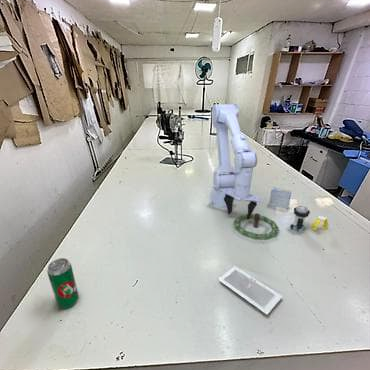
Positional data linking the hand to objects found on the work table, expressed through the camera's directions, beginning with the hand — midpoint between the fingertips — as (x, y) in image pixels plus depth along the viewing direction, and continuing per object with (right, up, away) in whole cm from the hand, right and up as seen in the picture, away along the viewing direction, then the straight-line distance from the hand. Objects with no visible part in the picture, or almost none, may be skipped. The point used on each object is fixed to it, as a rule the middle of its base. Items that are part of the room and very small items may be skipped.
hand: (239, 215), depth 92 cm
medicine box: (+21, +2, +14) cm, 25 cm away
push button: (+22, -6, -3) cm, 23 cm away
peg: (+6, -5, -2) cm, 8 cm away
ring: (+6, -4, -2) cm, 7 cm away
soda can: (-51, -18, -32) cm, 63 cm away
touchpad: (-4, -17, -29) cm, 34 cm away
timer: (+30, -4, -4) cm, 30 cm away
